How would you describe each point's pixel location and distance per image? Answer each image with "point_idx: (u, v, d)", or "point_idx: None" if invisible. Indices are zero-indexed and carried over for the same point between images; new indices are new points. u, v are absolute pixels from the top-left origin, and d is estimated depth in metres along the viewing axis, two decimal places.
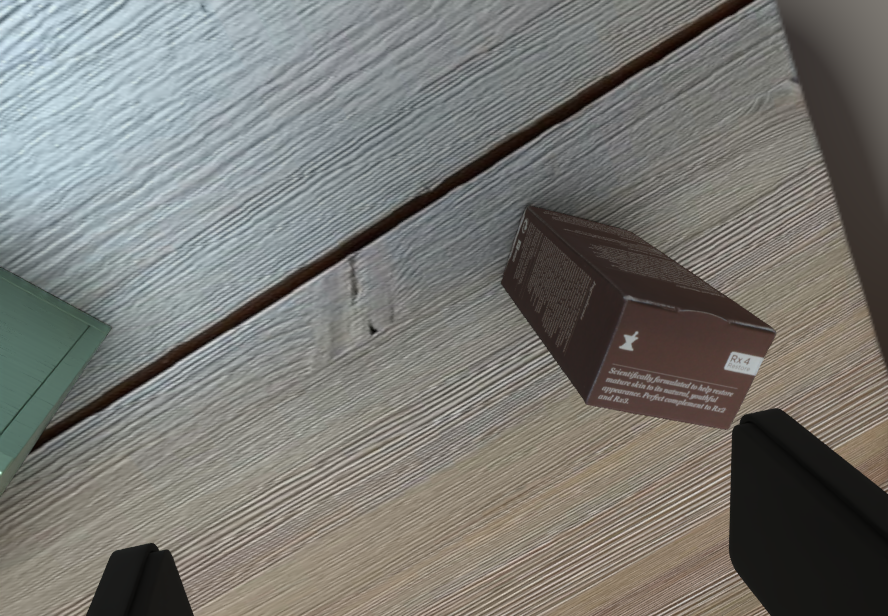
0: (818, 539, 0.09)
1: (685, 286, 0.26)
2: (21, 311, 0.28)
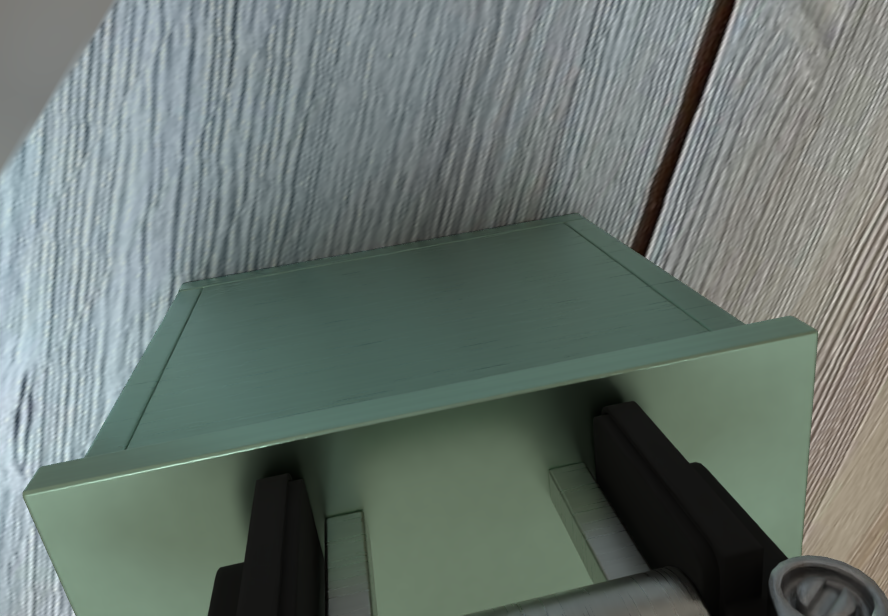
0: (647, 520, 0.10)
1: None
2: (508, 248, 0.21)
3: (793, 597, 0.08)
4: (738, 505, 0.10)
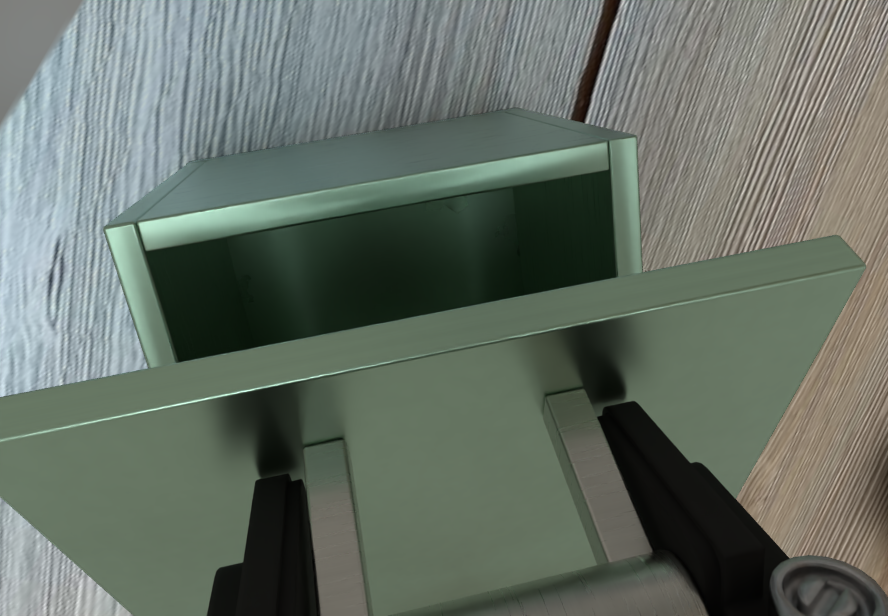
0: (648, 520, 0.10)
1: None
2: (455, 124, 0.26)
3: (794, 597, 0.08)
4: (739, 505, 0.10)
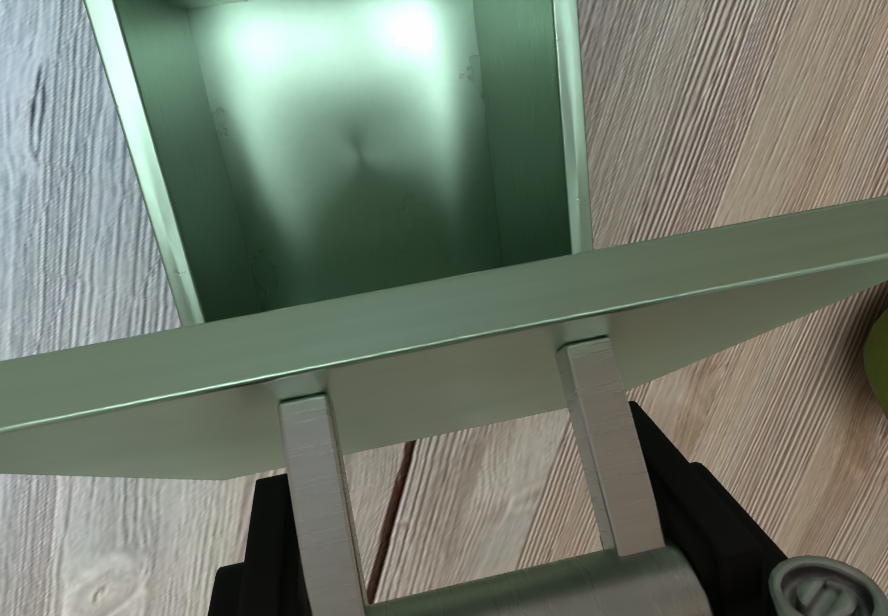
0: None
1: None
2: None
3: (793, 597, 0.08)
4: (738, 505, 0.10)
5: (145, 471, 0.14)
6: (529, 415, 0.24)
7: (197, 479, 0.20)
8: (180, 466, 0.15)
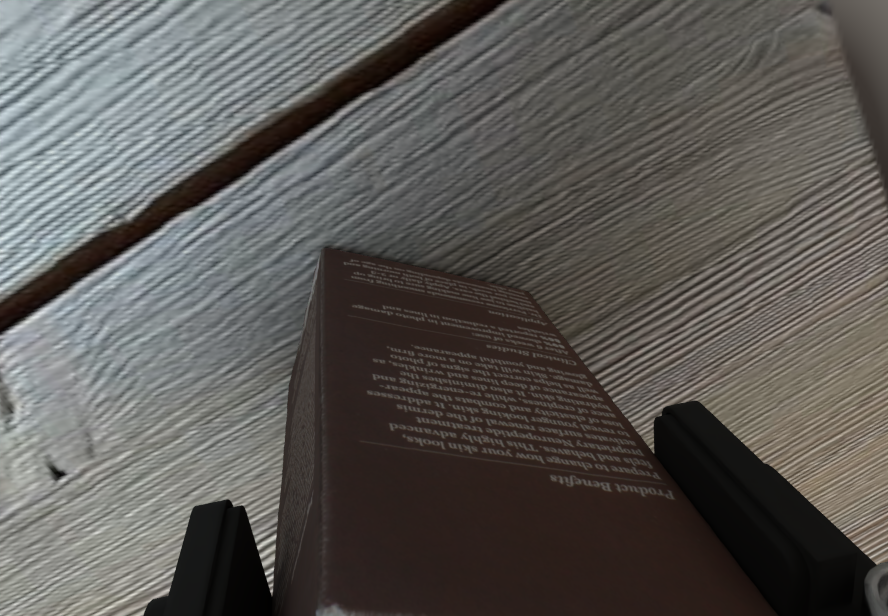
0: (721, 523, 0.10)
1: (577, 474, 0.10)
2: None
3: None
4: (813, 507, 0.10)
5: None
6: None
7: None
8: None
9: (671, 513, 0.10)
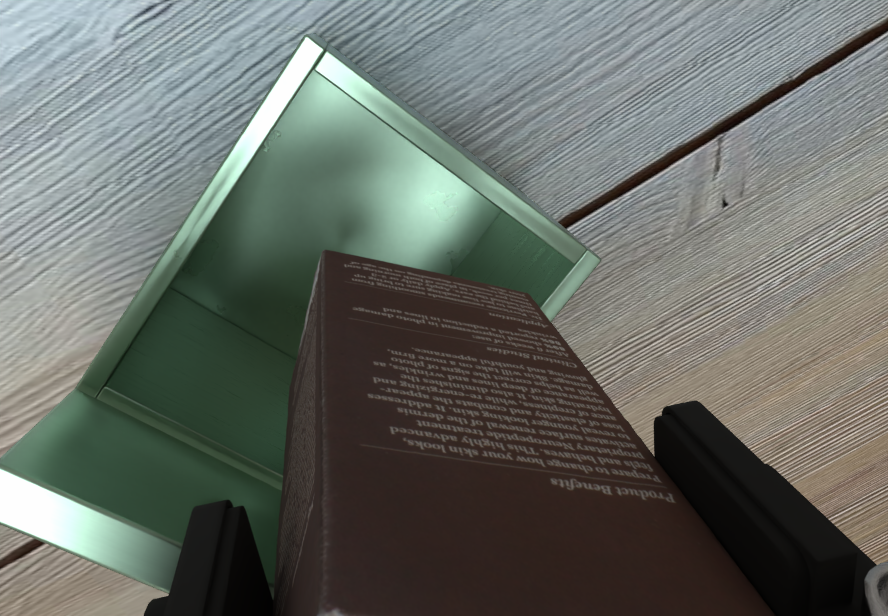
0: (721, 523, 0.10)
1: (577, 477, 0.10)
2: (491, 169, 0.34)
3: None
4: (813, 507, 0.10)
5: None
6: None
7: None
8: None
9: (671, 516, 0.10)
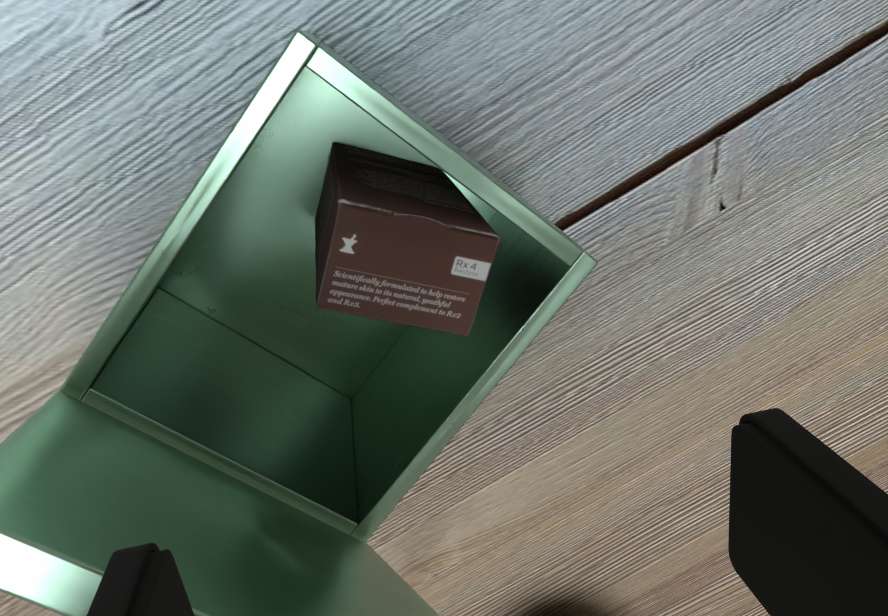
0: (818, 539, 0.09)
1: (435, 202, 0.27)
2: (486, 170, 0.34)
3: None
4: None
5: None
6: None
7: None
8: None
9: (469, 213, 0.27)
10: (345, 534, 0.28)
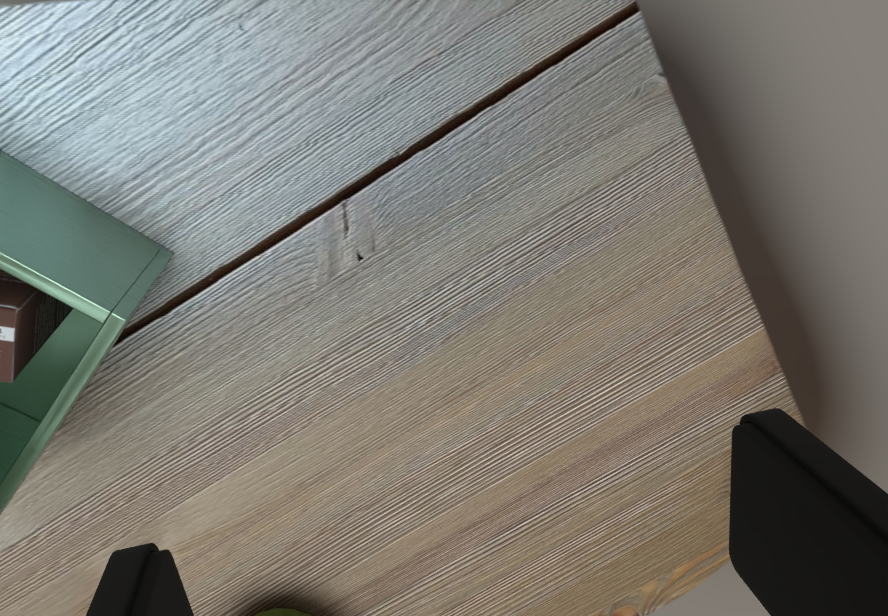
0: (818, 539, 0.09)
1: None
2: (116, 236, 0.41)
3: None
4: None
5: None
6: None
7: None
8: None
9: (21, 286, 0.34)
10: None
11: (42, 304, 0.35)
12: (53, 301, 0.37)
